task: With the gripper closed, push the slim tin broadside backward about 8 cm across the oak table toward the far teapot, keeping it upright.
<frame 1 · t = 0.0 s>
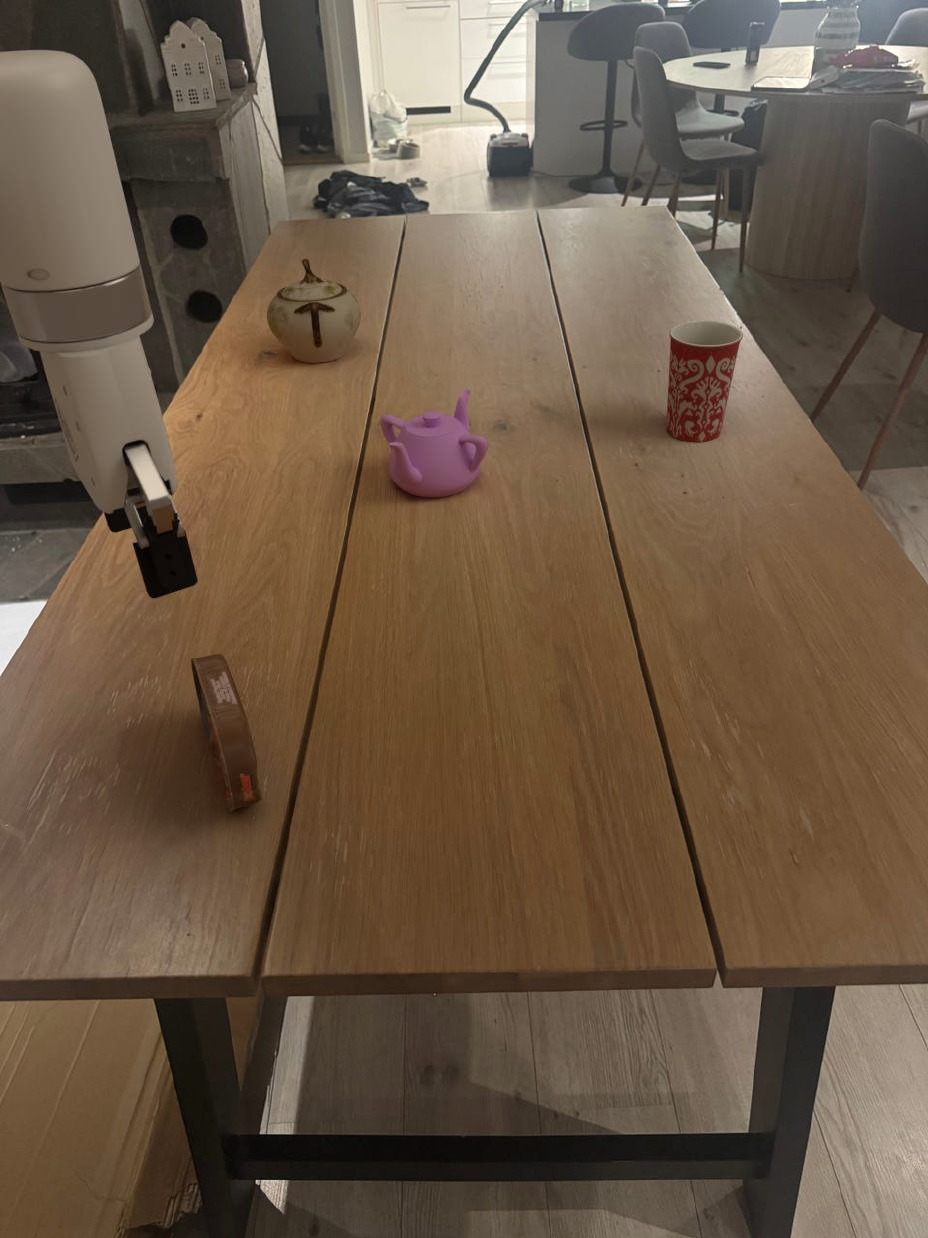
hand: (152, 556, 63), 22 cm above the table, tool pointing down, fingers open, 9 cm apart
tin: (235, 766, 77), on the table
teapot: (436, 479, 117), on the table
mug: (690, 426, 126), on the table
sugar bowl: (319, 355, 153), on the table
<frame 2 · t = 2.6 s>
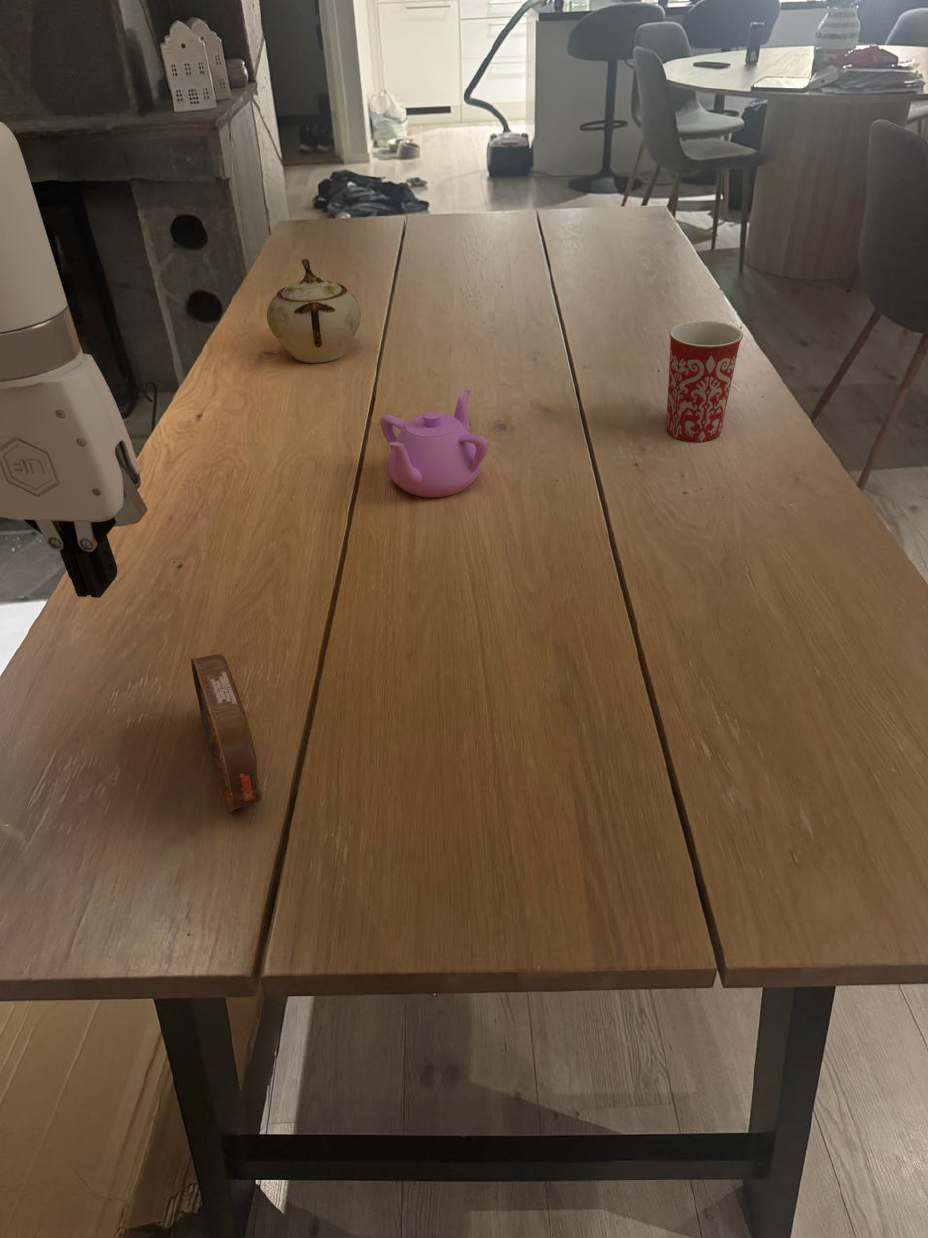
hand: (98, 586, 68), 17 cm above the table, tool pointing down, fingers closed
nothing on the table moved.
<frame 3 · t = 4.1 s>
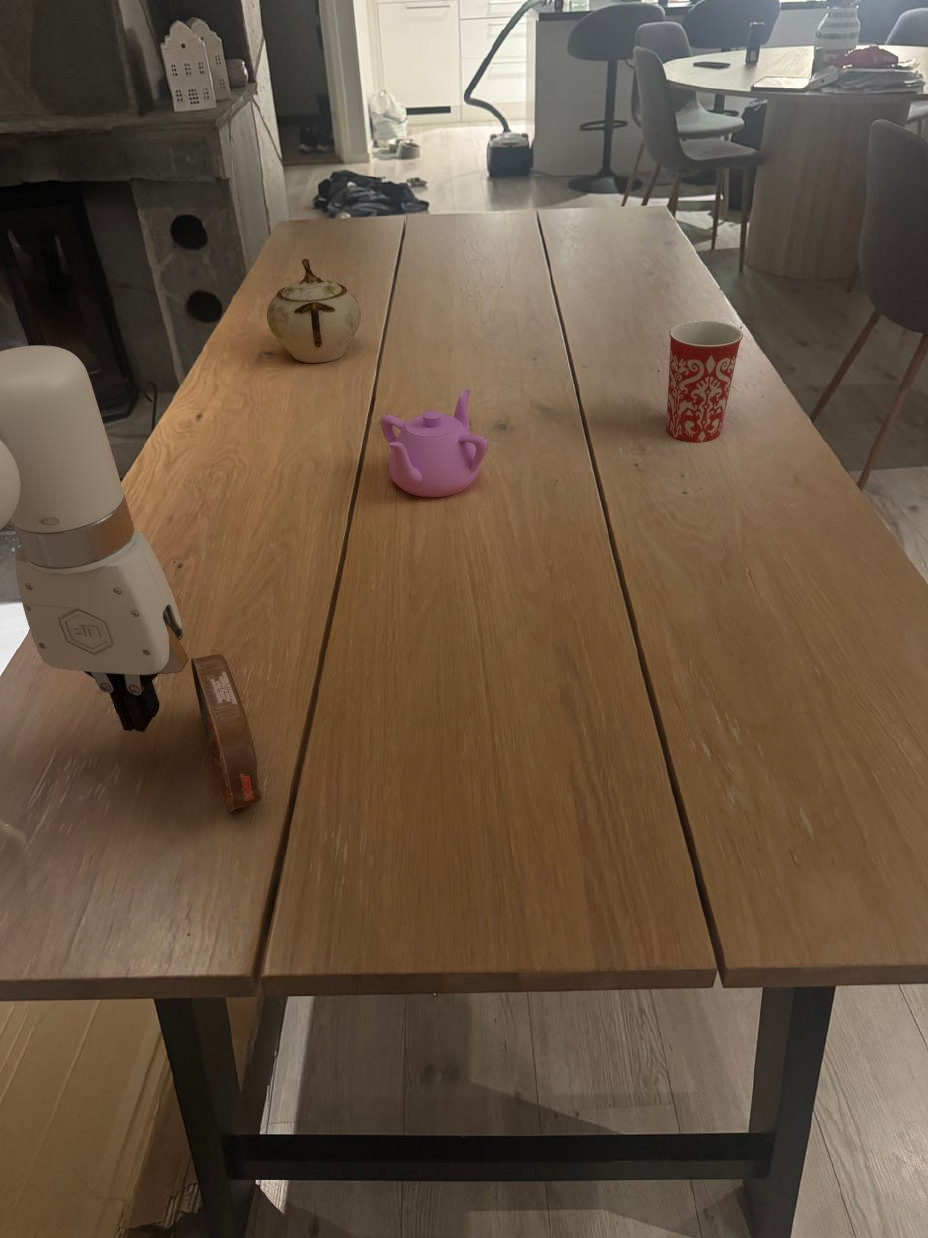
hand: (142, 719, 76), 4 cm above the table, tool pointing down, fingers closed
nothing on the table moved.
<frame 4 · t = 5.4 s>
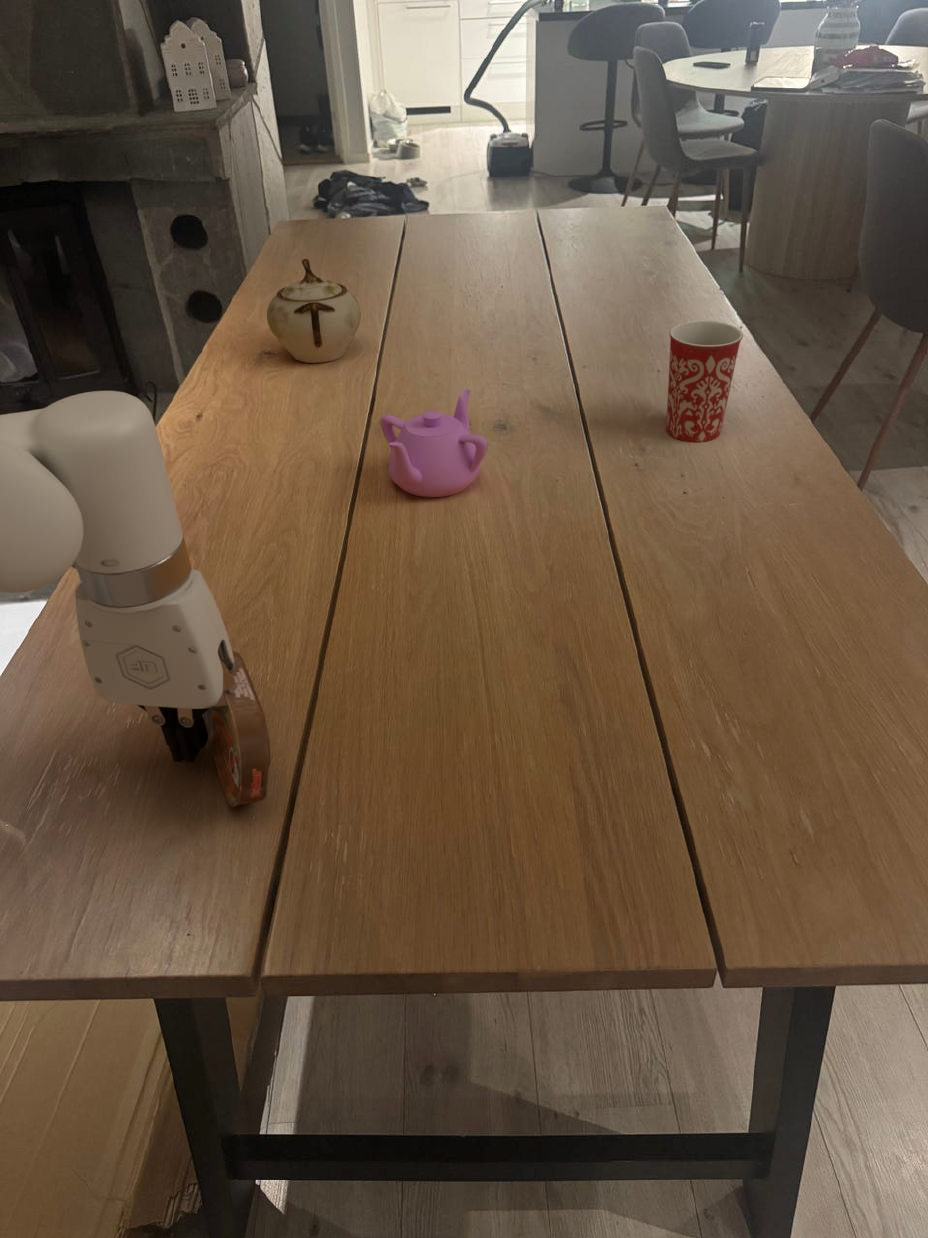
hand: (190, 750, 77), 1 cm above the table, tool pointing down, fingers closed
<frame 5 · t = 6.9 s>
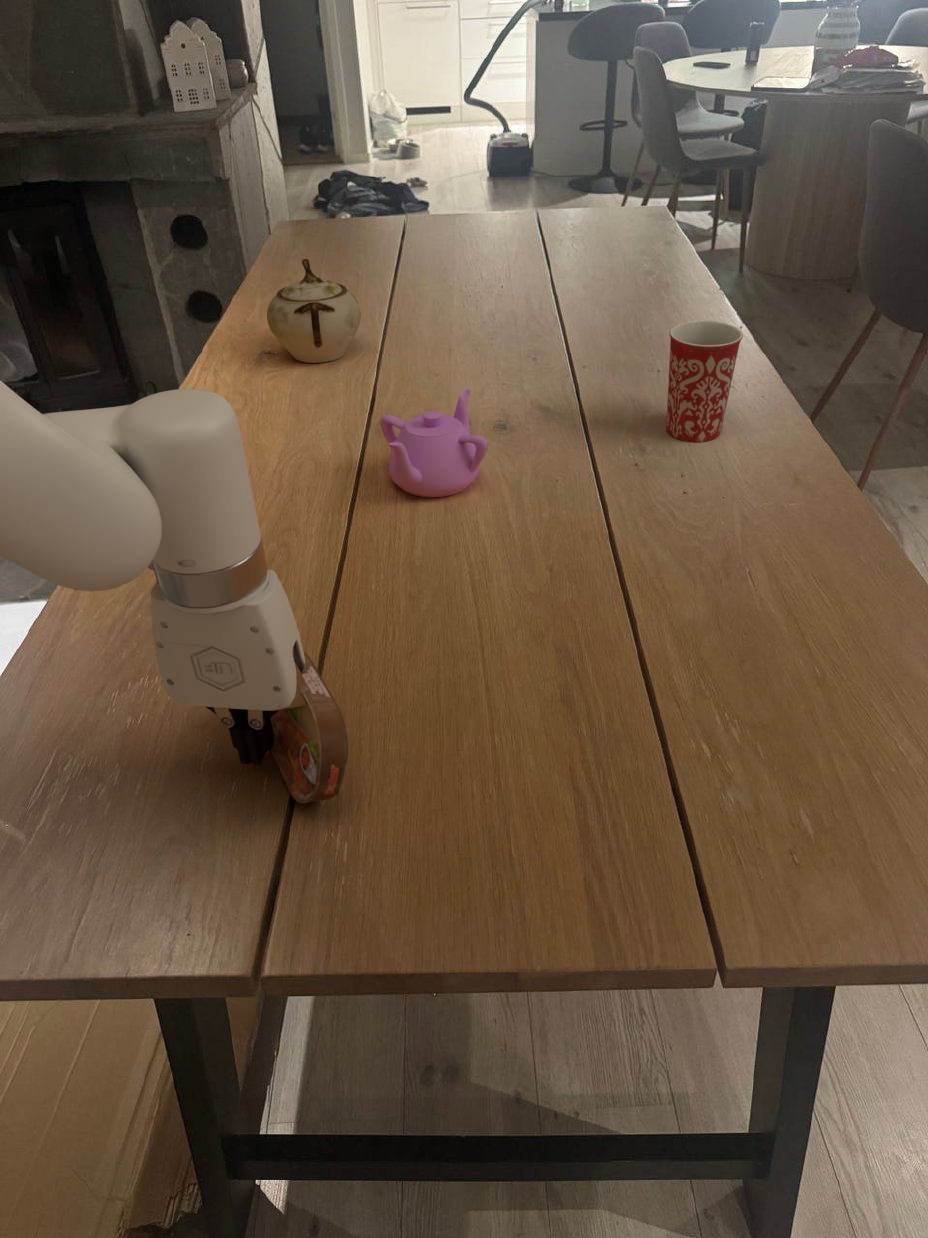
hand: (256, 752, 76), 1 cm above the table, tool pointing down, fingers closed
tin: (294, 763, 77), on the table, touching gripper
everything else where it was.
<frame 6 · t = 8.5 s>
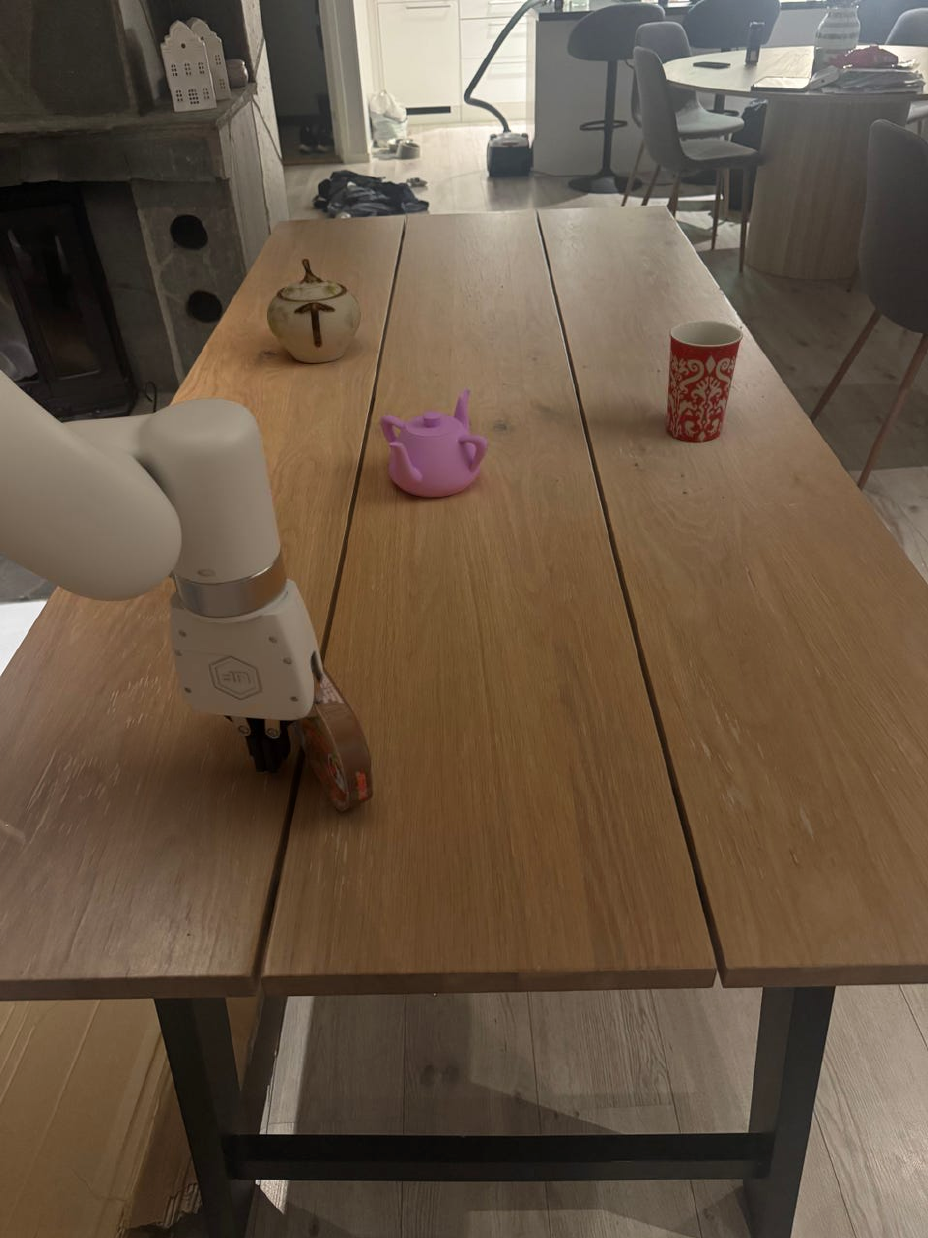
hand: (272, 760, 76), 1 cm above the table, tool pointing down, fingers closed
tin: (332, 766, 77), on the table
everything else where it was.
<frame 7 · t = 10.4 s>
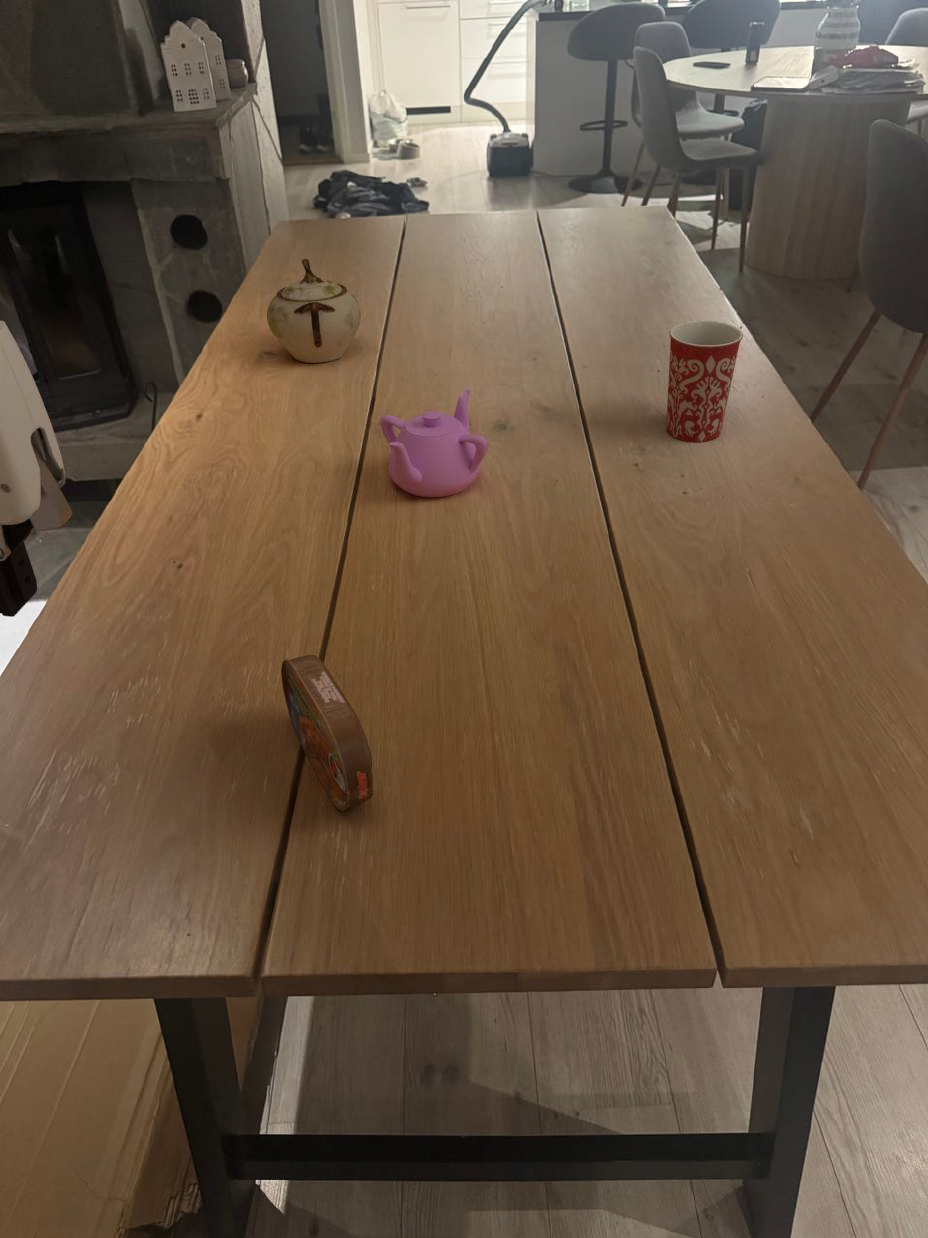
hand: (13, 602, 57), 23 cm above the table, tool pointing down, fingers closed
nothing on the table moved.
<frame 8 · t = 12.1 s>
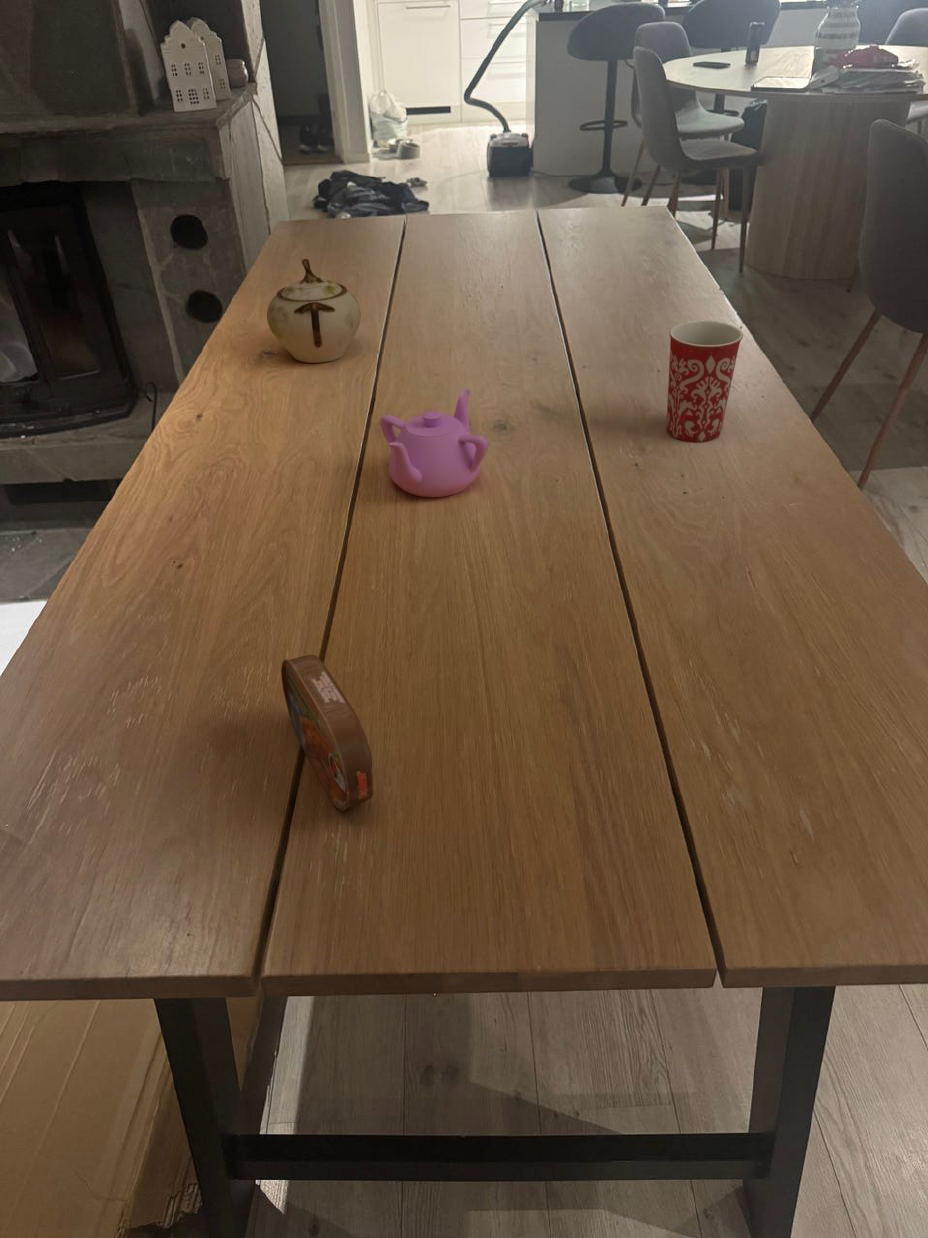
nothing on the table moved.
at the end: tin moved 8.2 cm from its start; tin tilted 0° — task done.
